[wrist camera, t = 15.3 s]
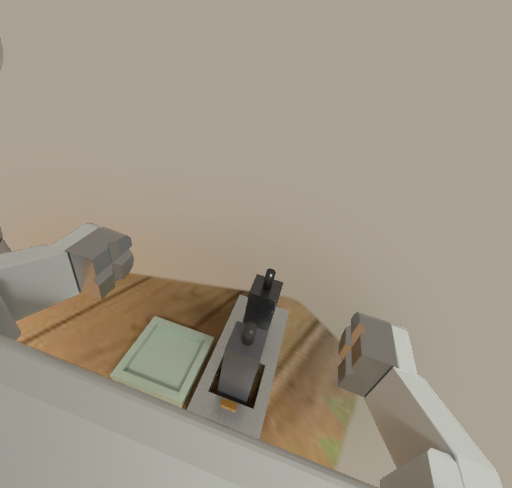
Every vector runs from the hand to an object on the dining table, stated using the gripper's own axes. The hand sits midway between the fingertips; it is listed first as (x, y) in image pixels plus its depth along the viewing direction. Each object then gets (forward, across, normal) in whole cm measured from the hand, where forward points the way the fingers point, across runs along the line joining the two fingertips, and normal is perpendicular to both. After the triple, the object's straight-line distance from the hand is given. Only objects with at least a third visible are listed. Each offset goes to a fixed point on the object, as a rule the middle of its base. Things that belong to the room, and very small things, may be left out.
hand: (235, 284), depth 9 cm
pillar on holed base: (+16, 0, +31) cm, 35 cm away
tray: (+12, +10, +31) cm, 35 cm away
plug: (+12, 0, +31) cm, 33 cm away
